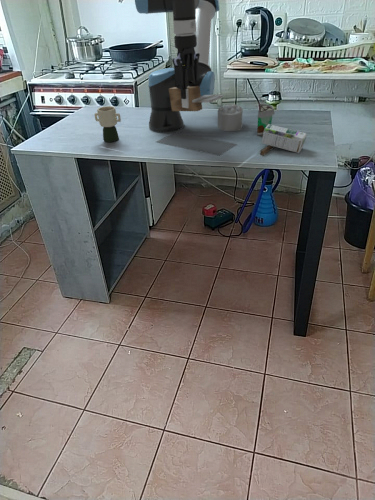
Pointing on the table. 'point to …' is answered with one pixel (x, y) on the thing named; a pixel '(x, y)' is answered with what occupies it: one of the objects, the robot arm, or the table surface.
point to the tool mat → (197, 143)
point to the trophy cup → (108, 122)
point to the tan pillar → (190, 99)
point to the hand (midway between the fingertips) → (188, 106)
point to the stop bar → (266, 150)
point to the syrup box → (283, 138)
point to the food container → (264, 117)
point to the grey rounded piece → (230, 117)
